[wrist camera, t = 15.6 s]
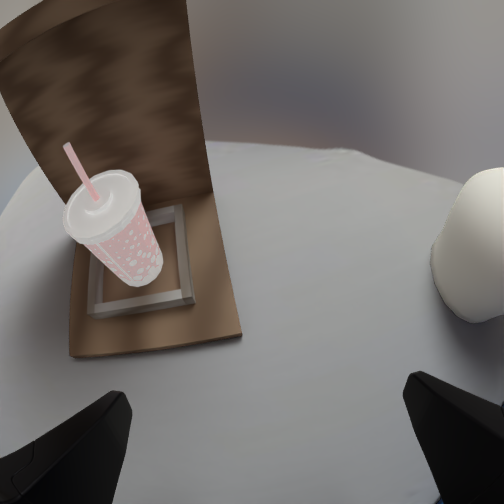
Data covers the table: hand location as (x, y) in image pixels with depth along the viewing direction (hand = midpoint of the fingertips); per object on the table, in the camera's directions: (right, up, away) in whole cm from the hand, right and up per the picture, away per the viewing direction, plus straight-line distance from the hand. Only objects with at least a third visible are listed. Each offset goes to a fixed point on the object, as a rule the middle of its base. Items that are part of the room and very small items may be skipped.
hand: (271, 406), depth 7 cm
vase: (+24, +2, +17) cm, 30 cm away
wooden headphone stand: (-11, +3, +18) cm, 21 cm away
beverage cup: (-11, +3, +17) cm, 20 cm away
